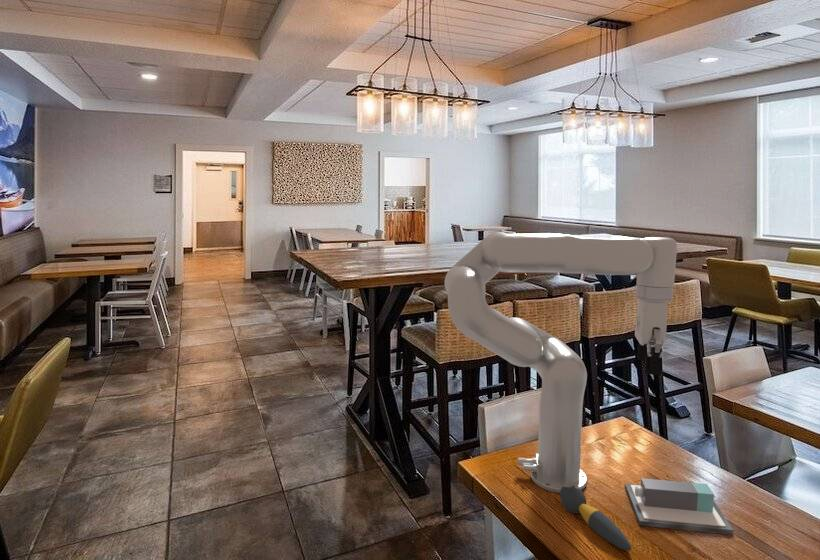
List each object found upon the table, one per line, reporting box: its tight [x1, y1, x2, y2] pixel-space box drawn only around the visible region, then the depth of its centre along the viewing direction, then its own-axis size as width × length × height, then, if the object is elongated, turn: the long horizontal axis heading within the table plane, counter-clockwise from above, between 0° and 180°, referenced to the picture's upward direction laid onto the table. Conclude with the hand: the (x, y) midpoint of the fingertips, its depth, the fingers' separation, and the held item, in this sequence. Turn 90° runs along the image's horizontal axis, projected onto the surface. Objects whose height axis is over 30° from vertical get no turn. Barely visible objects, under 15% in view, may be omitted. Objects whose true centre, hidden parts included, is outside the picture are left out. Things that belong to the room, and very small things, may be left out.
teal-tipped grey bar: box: [635, 478, 715, 513], centre depth 108 cm, size 14×4×4 cm, turn 79°
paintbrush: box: [559, 486, 632, 551], centre depth 103 cm, size 20×5×5 cm, turn 29°
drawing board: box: [624, 482, 734, 535], centre depth 108 cm, size 17×14×1 cm
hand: (648, 367), depth 116 cm, fingers open, 9 cm apart
